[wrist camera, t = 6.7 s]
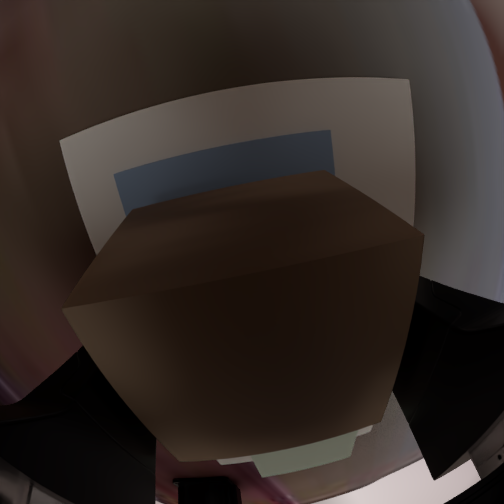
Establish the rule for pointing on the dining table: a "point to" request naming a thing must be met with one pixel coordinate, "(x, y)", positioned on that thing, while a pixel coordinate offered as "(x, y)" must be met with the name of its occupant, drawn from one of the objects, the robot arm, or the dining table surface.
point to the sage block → (305, 455)
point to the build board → (247, 148)
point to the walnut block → (252, 314)
